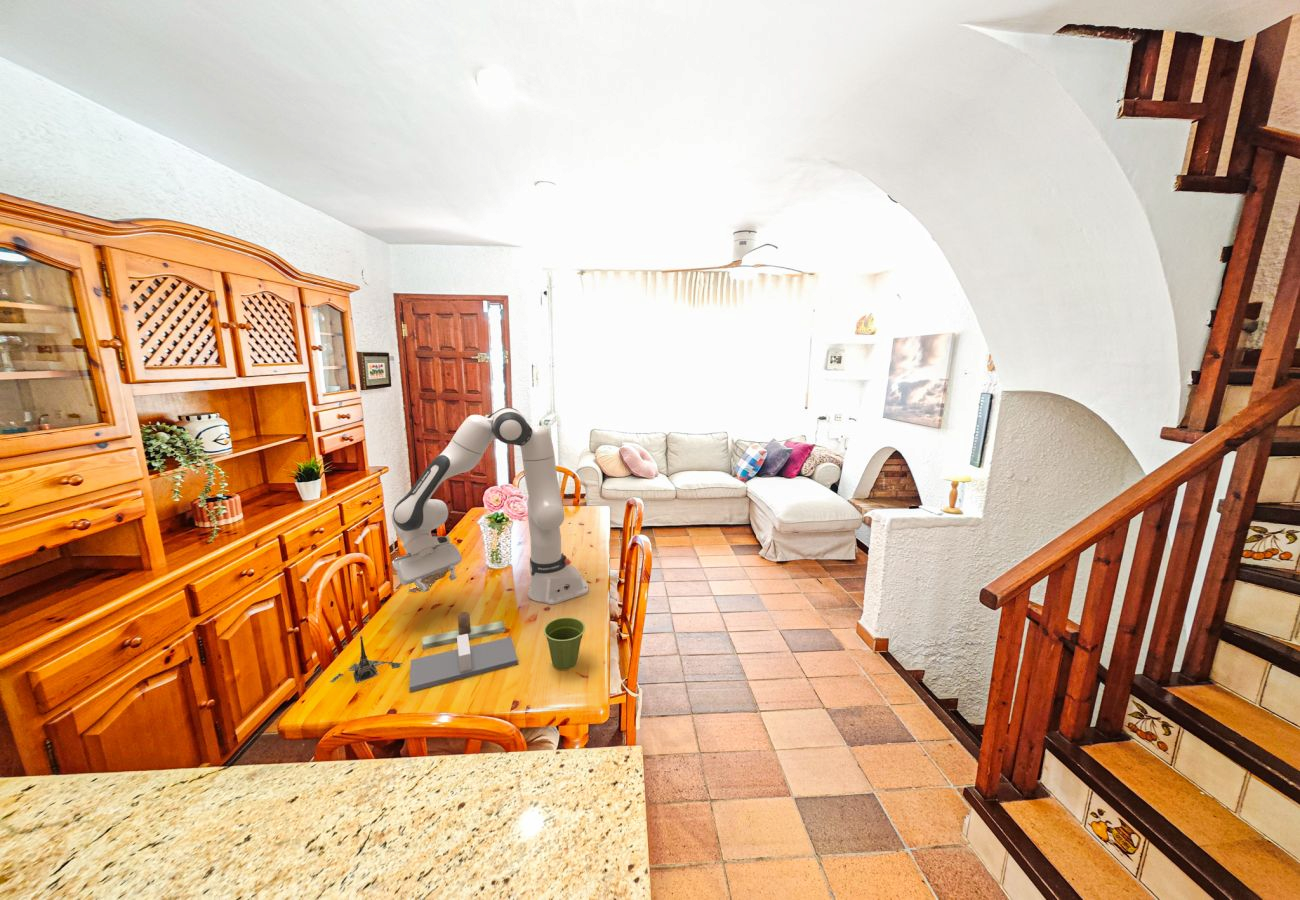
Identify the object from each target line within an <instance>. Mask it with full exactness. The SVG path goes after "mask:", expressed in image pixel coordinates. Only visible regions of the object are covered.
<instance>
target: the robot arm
mask: <svg viewBox="0 0 1300 900" xmlns="http://www.w3.org/2000/svg"><path fill="white" fill-rule="evenodd" d="M495 440H499V441H500V442H501V443H504V444H506V445H513V446H519V447H520V451H521V457H522V465H523V467H522V468H523V471H524V472H523V474H524V479H525V485H526V489H527V493H528V496H527V502H526V503H527V517H528V529H529V538H530V558H529V572H530V581H529V587H528V590H527V597H528V598H529V599H531V600H533V601H535V602H539V603H545V604H549V605H556V604H558V603H559V604H560V603H561V602H565V601H569V600H571V599H573V598H577V597H580V596H583V595H586V594H588V593H589V585H588V583H587V581H586V580H585V579H584V578H583V577H582V574H581V573H580V571H579V570H578V569H577V567H575V566H573V565H571V560H570V559H569V558H568V557H567V555H565V554H564V553H563V552H562V534H561V529H560V527H561V526H562V525H563V522H564V520H565V510H564V504H563V499H562V494H561V488H560V483H559V480H558V479H559V478H558V474H557V465H556V458H555V449H554V445H553V442H552V437H551V435H550V431H549V430H548V429H547V427H545V426H543V425H539V424H533V425H531V424H529V423H528V422H527V419H525V417H524V415H523V414H522V413H521V411H519V410H518V409H516V408H513V407H511V406H510V407H507V406H506V407H503V408H500V409H498V410H497V411H495V412H493V413H491V414H490V415H488V416H487V417H486V416H484V415H480V414H471V415H469V416H468V417H466V418H465V420H464V421H463V422H462V424H460V426H459V427H458V429H456V432H454V435H453V437H452V438H451V440H450V441H449V443H448V444H447V446H446V447H445V448H444V449H443V451H442V452H441V453H440V454H438V456H436V457H435V458H433V460H432V461H431V462H430V463H429V464H428V466H427V467H426V468H425V469H424V471H423V472H422V473H421V475H420V477H419V478H418V479H417V480H416V481H415V483H414V485H412V487H411V489H410V490H409V492H408V493H407V494H406V495H405V496H404V497H403V498H401V499H400V500H398V502H397V503H396V505H395V507H394V508H393V511H392V514H391V524H392V525H393V528H394V531H395V532H396V535H397V536H398V538H399V539H400V540H401V542H402V543H403V548H404V551H405V552H406V554H403V555H401V556H398V557H395V558H394V560H393V561H392V564H391V565H392V566H391V567H393V569H394V570H395V572H396V576H397V578H398V581H399V583H400V584H401V585H403V586H404V587H405V586H407V585H410V584H411V583H413V582H414V583H415V585H416V586H418V587H420V588H421V589H422V591H421V592H423V593H426V592H428V591H429V590H430V589H431V587H430V588H429V587H428V584H426V585H425V584H423V583H422V582H421V579H423V578H425V577H428V576H430V575H433V574H435V573H438V572H440V571H443V570H445V569H448V570H449V571H448V572H450V574H449V575H448V578H449V580H450V581H455V580H456V579H457V574H456V566H457V565H458V566H459V564H460V563H461V562H462V559H463V556H462V554H461V552H460V550H459V549H458V548H457V546H456V545H455V544H454V543H452V542H451V538H450V537H449V536H447V535H445V536H442V535H441V536H433V535H432V534H431V532H432V531H433V530H435V529H438V528H440V527H441V526H443V525H444V524H445V523H446V522H447V520H448V518H449V506H448V505H447V504H446V503H445V501H443V500H441V499H438V498H437V499H436V498H435V499H434V498H433V499H432V496H433V495H434V493H435V492H436V491H437V489H438V488H439V486H440V485H441V484H442V483H443V482H444V481H445V480H448V479H449V478H451V477H454V476H457V475H460V474H463V473H468V472H470V471H472V470H473V469H474V468H476V466H477V465H478V464H479V463H480V461H481V459H482V458H483V456H484V454H485V452H486V450H487V448H488V447H489V445H490V444H491V443H492V442H493V441H495Z"/></svg>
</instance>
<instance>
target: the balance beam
mask: <svg viewBox="0 0 1300 900" xmlns="http://www.w3.org/2000/svg"><path fill="white" fill-rule="evenodd" d="M470 615H471V613H470V612H469V611H462V612H460V613H458V615H457V625H458V626H457V627H458V629H456V630H451V631H447V632H441V633H437V634H433V635H427V636H422V644H421V645H422V650H427V649H431V648H437V647H441V646H445V645H450V644H454V643H457V636H459V635H464V634H468V639H469V640H473V639H478V638H482V637H488V636H491V635H492V636H493V635H497V634H500V633H504V632H506V624H505V622H504V621H505V620H500V621H495V622H491V623H485V624H481V625H475V626H471V617H470Z"/></svg>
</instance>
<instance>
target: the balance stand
mask: <svg viewBox="0 0 1300 900" xmlns="http://www.w3.org/2000/svg"><path fill="white" fill-rule="evenodd" d="M469 640H470V639H468V634H464V635H459V636H457V642H456V644H457V649H453V650H448V651H442V652H439V653H435V654H431V655H427V656H422V657H417V658H414V659H411V660H410V668H409V687H408V689H409V693H412V692H416V691H419V690H424V689H427V688H432V687H436V686H438V685H444V684H447V683H452V682H455V681H458V680H459V681H460V680H464V679H466V678H470V677H474V676H477V675H482V674H485V673H489V672H493V671H497V670H501V669H505V668H509V667H513V666H516V665H519V659H518V656H517V652H516V649H515V645H514V642H513V638H512V636H508V637H504V638H500V639H495V640H491V641H487V642H481V643H477V644H474V645H470V641H469Z"/></svg>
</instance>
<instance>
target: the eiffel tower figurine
mask: <svg viewBox="0 0 1300 900" xmlns="http://www.w3.org/2000/svg"><path fill="white" fill-rule="evenodd" d="M363 638H364V637H363V635H360V636H359V640H360V657H359V658H360V660H359V662H356V663H353V664H352V665H351V666H350V667H349V668H348V669H347V670H348V672H349V671H350V672H352V675H353V678H354V683H355V684H359V683H362V682H364V681H367V680H369V679H372V678H374V677H377V676H379V673H378V670H377V668H376V667H378V666H381V665H384V664H390V666H391V669H400V667H401V666H402V665H403V663H401V662H389V661H381V660H373V659H372V660H370V659H368V656H367V653H366V652H365V651H366V649H365V647H364V646H365V645H364V640H363ZM344 675H345V674H343V673H341V672H339V673H338V674H337V675H335V677H333V678H332V679H331V680H330V681H329V682H330V683H335V682H336V681H337V679H340V677H343V676H344Z"/></svg>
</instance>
